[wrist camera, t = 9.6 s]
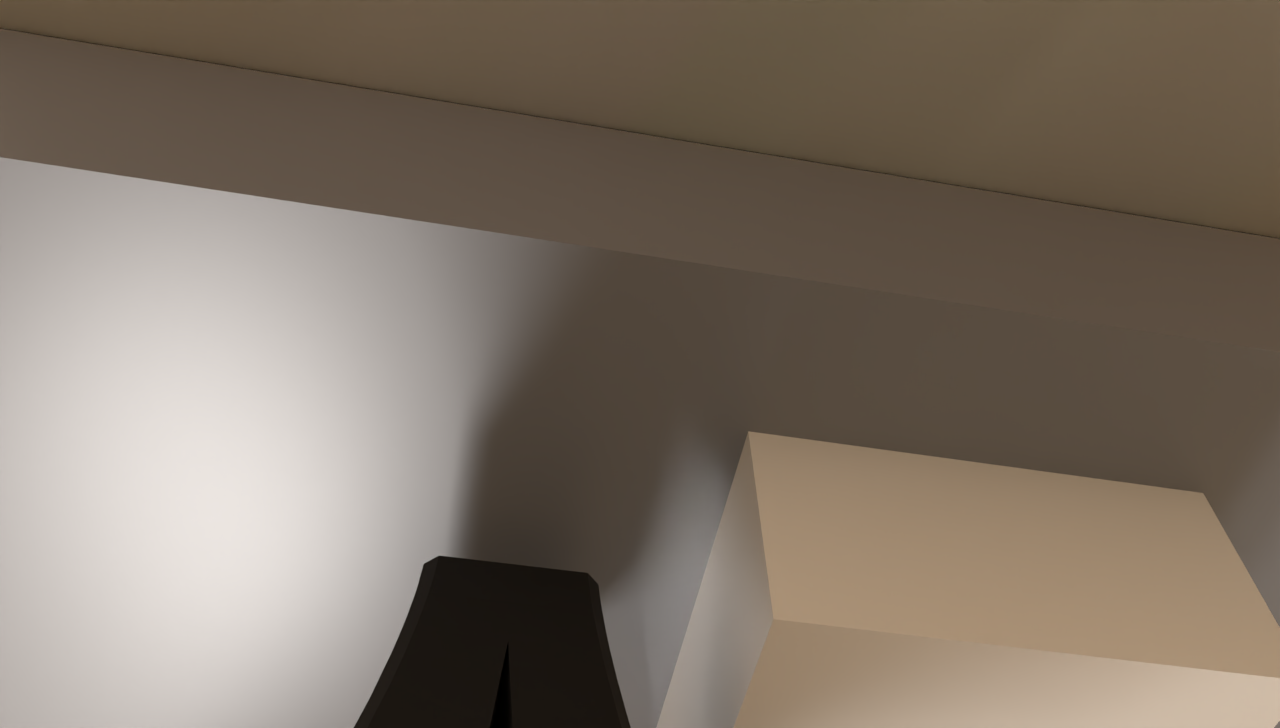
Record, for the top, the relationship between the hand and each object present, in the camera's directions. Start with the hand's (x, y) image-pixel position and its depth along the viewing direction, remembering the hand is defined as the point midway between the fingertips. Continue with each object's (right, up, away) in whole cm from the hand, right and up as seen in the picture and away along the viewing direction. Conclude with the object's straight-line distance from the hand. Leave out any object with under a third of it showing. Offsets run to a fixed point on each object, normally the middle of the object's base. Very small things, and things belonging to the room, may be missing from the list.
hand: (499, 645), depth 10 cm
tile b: (+4, 0, +1) cm, 4 cm away
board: (+2, -1, +5) cm, 5 cm away
